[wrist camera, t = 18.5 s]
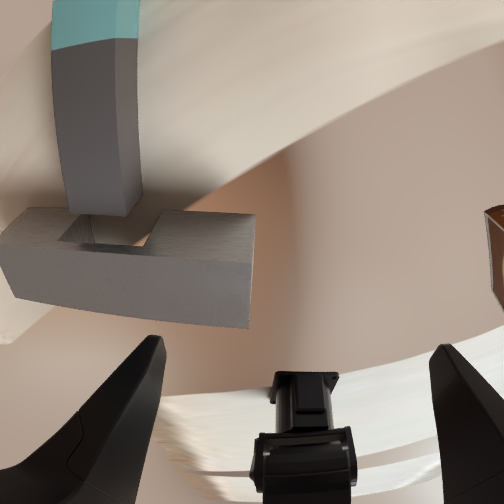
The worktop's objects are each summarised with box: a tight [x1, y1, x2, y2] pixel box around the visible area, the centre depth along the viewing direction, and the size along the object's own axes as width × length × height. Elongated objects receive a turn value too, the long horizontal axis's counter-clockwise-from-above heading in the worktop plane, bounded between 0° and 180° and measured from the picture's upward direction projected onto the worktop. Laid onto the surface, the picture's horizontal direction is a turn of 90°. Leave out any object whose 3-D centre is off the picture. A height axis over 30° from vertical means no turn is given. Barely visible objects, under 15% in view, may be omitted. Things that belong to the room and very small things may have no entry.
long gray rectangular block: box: [0, 208, 256, 329], centre depth 20 cm, size 5×18×5 cm, turn 88°
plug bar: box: [51, 0, 143, 216], centre depth 15 cm, size 13×4×3 cm, turn 176°
